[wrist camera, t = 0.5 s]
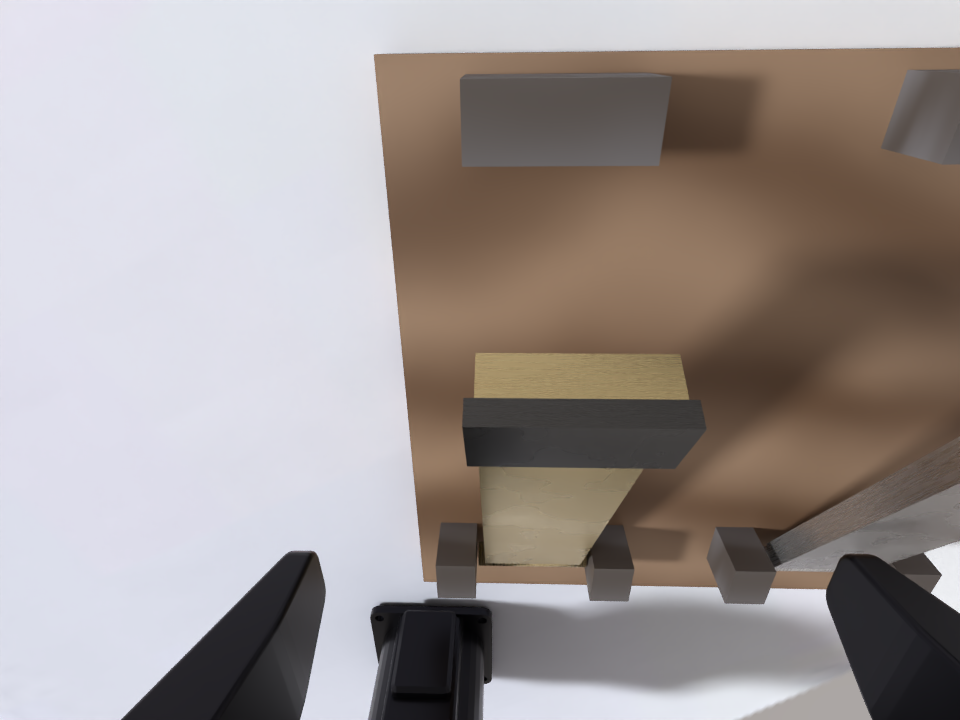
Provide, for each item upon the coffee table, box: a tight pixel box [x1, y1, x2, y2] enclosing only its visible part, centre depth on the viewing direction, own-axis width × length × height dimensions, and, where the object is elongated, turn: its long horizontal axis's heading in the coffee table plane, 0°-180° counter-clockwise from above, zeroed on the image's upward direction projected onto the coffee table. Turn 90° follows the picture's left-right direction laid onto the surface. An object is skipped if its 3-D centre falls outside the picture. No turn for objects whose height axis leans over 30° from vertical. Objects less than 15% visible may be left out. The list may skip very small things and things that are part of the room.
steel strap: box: [763, 437, 960, 572], centre depth 17 cm, size 16×5×2 cm, turn 179°
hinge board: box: [374, 48, 960, 604], centre depth 20 cm, size 22×22×4 cm
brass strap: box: [462, 353, 707, 568], centre depth 17 cm, size 16×5×2 cm, turn 179°
